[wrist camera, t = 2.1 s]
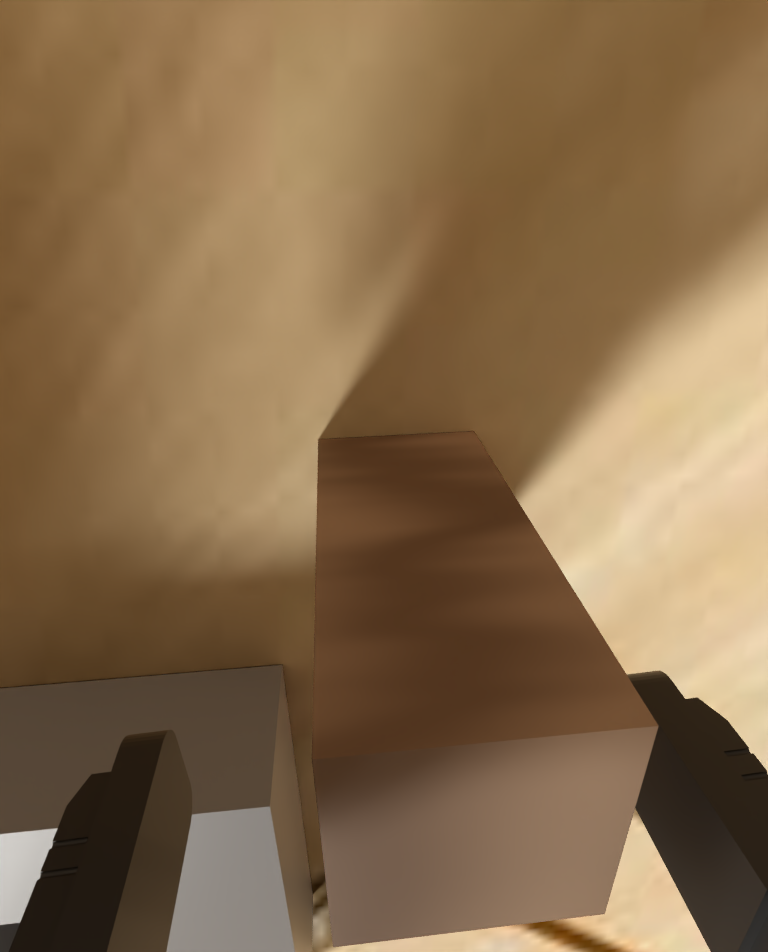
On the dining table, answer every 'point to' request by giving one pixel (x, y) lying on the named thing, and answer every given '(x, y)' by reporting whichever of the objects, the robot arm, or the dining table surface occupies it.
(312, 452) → the dining table surface
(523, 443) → the dining table surface
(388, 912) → the peg
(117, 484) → the dining table surface
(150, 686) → the socket
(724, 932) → the robot arm
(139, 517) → the dining table surface
